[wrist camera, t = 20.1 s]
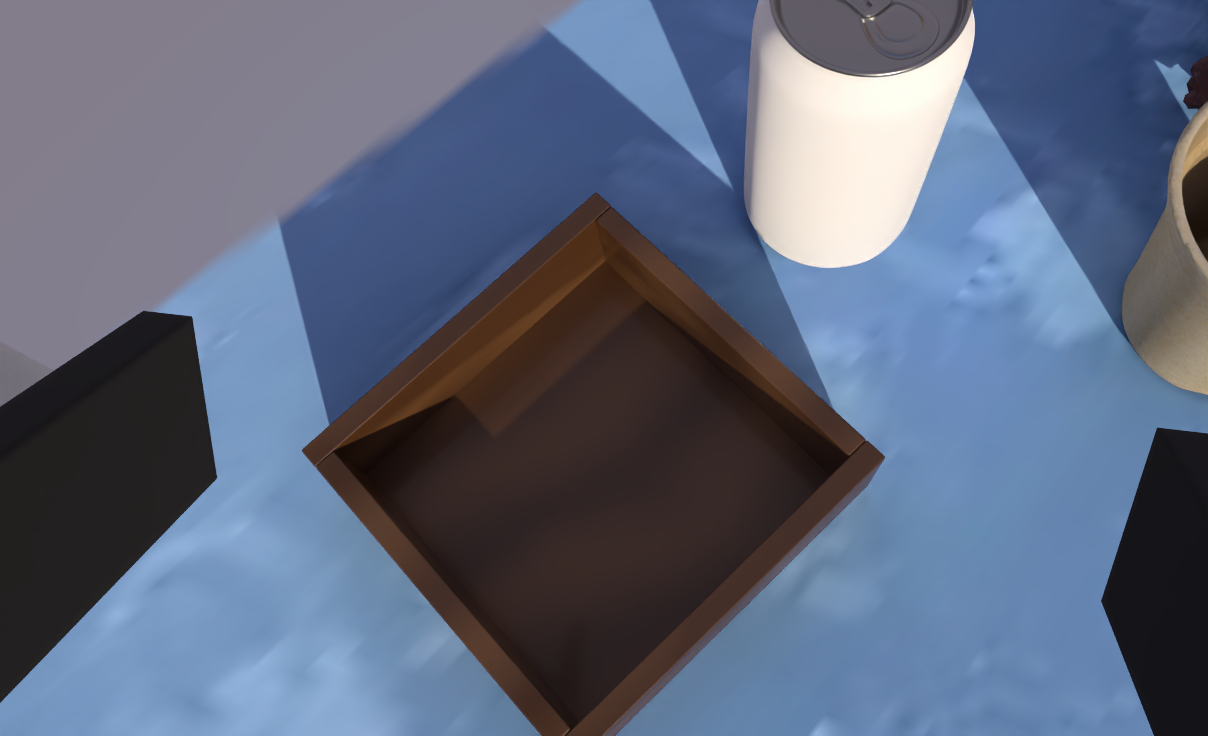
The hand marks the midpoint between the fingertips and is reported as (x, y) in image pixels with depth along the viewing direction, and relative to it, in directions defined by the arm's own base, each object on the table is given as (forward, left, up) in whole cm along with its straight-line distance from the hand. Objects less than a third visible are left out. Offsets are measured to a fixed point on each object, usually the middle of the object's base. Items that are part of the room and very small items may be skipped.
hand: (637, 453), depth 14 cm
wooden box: (-6, +1, -22) cm, 23 cm away
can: (-8, +15, -23) cm, 28 cm away
